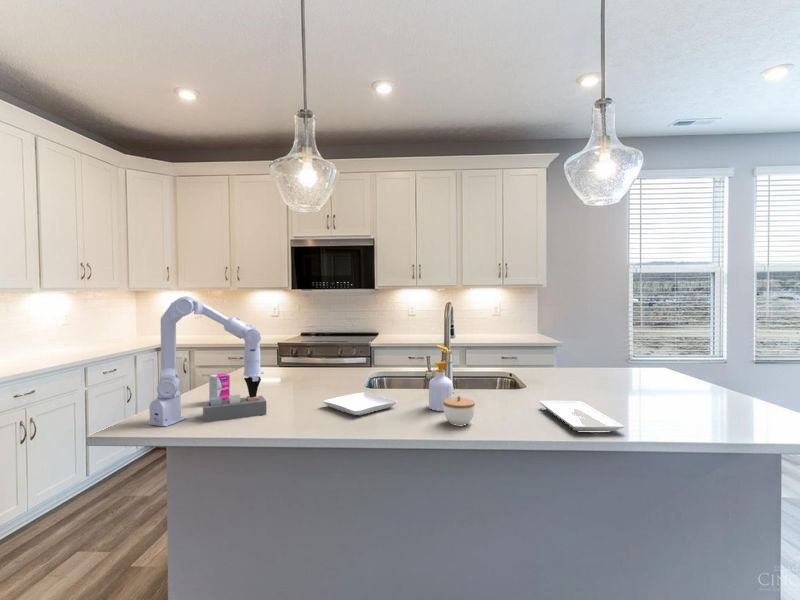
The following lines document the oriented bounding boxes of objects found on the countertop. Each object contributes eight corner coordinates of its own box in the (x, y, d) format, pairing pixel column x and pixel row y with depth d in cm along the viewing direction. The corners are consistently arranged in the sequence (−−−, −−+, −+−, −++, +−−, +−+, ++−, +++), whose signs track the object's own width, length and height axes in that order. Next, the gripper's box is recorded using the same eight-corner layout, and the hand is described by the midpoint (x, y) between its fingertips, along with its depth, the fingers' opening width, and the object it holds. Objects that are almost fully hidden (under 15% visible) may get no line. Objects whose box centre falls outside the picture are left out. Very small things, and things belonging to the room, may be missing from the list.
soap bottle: (430, 404, 174) (430, 343, 173) (453, 405, 172) (453, 344, 171) (427, 410, 165) (427, 346, 164) (451, 412, 163) (451, 347, 162)
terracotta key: (248, 409, 160) (248, 398, 160) (247, 406, 163) (246, 396, 163) (258, 407, 162) (258, 397, 161) (257, 405, 165) (256, 395, 165)
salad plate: (363, 398, 184) (363, 390, 184) (398, 409, 169) (398, 400, 169) (321, 408, 169) (321, 399, 169) (355, 420, 154) (355, 411, 154)
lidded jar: (441, 418, 155) (441, 392, 155) (470, 418, 156) (470, 392, 156) (445, 428, 144) (446, 400, 144) (477, 428, 145) (477, 400, 145)
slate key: (210, 411, 154) (210, 400, 154) (210, 408, 157) (209, 397, 157) (221, 409, 156) (221, 398, 156) (220, 407, 159) (220, 396, 159)
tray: (580, 408, 169) (580, 399, 169) (625, 436, 138) (625, 425, 138) (537, 409, 169) (537, 400, 169) (573, 437, 137) (573, 426, 137)
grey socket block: (204, 422, 151) (203, 408, 151) (202, 415, 159) (202, 402, 159) (266, 414, 160) (266, 401, 160) (262, 408, 168) (262, 395, 168)
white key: (229, 408, 157) (229, 397, 157) (228, 406, 160) (228, 395, 160) (240, 407, 159) (240, 396, 159) (239, 405, 162) (239, 394, 162)
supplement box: (216, 405, 172) (216, 377, 172) (208, 403, 176) (208, 375, 175) (230, 402, 177) (229, 374, 176) (222, 400, 180) (221, 372, 180)
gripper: (266, 362, 157) (267, 400, 158) (260, 356, 170) (260, 391, 171) (246, 364, 154) (246, 402, 154) (241, 358, 167) (241, 393, 167)
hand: (252, 396), depth 162 cm, fingers closed, pressing on terracotta key
